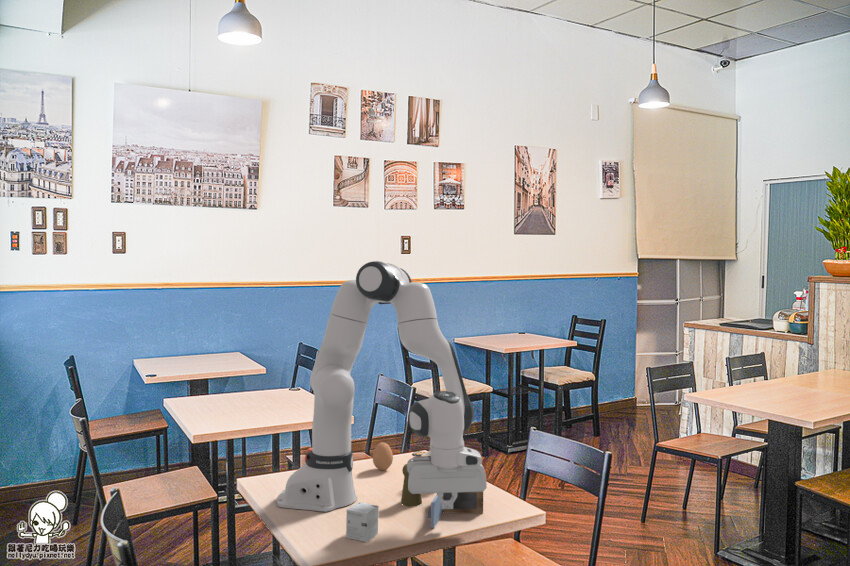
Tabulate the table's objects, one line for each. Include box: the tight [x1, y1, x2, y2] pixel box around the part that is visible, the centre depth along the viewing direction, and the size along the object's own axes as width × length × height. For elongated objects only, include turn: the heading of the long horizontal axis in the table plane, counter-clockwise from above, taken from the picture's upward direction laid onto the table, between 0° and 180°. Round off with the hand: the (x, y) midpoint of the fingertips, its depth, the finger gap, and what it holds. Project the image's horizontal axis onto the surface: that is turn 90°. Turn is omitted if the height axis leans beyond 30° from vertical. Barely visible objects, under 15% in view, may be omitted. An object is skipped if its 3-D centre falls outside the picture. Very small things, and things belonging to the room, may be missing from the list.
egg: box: [372, 441, 394, 472], centre depth 216 cm, size 7×7×9 cm
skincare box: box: [345, 501, 379, 543], centre depth 165 cm, size 6×6×7 cm
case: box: [443, 491, 484, 514], centre depth 185 cm, size 12×9×7 cm
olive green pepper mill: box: [400, 463, 423, 507], centre depth 188 cm, size 6×6×11 cm
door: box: [427, 493, 444, 529], centre depth 175 cm, size 11×2×6 cm, turn 166°
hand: (447, 508), depth 171 cm, fingers closed
